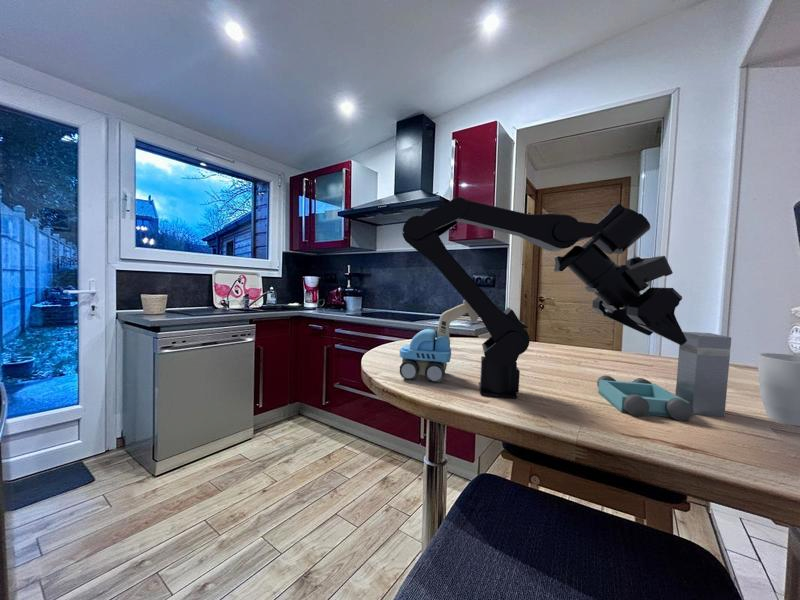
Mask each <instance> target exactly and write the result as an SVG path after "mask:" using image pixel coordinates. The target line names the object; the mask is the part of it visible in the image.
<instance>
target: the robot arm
mask: <svg viewBox="0 0 800 600" xmlns="http://www.w3.org/2000/svg"><path fill="white" fill-rule="evenodd" d="M460 223H464V224H467V225H472V226H476V227H480V228H484V229H487V230H491V231H492V230H493V231H496V232H500V233H504V234H508V235H511V236H512V235H513V236H516V237H520V238H521V239H524V240H525V241H527V242H529V243H530V244H532V245H535V246H537V247H539V248H542V249H544V250H545V251H549V252H559V251H562V250H565V249H568V248H571V247H572V248H571V249H570V250H568V251H567V252H566V253H565V254H564V255H562V256H561V255H559V256H555V257H554V269H553V270H554V272H555V273H558V272H563V271H564V270H565V269H566V268H568V269H569V270H570V271H571V272H572V273H573V274H574V275H575V276H576V277H578V279H579V280H580V281H581V282H582V283H584V285H585V287H584V288H585V289H586V291H588V293H589V292H590V293H594V295H596V298H594V299H593V300H592V309H593V310H595V312H596V313H597V314H599V315H602V316H603V317H604V318H606V319H607V318H608V319H609V320H612V321H615V323H619V324H621V325H623V326H626V327H628V328H630V329H632V330H635V331H637V332H639V333H641V334H644V335H646V336H651V335H652V334H653V333H654V334H655V335H658V336H661V337H662V338H664V339H667V340H668V341H670V342H673V343H675V344H677V345H683V344H684V343H686V342H687V339H686V337H685V335H684V334H683V332H684V331H683V330H682V328H681V325H680V324H679V322H678V319H677V317H676V315H675V311H676V308H677V307H679V305H680V302H681V301H682V300H683V296H682V295H681V294H680V293H679V292H678V291H677V290H675V288H673V287H655V286H654V287H652V286H651V287H649V286H650V285H649V284H648V283H649V282H652V281H654V280H657V279H660V278H662V277H668V276H670V275H672V274H673V273H674V272H673V270H672V268H671V265H670V264H669V262H668V259H667V257H666V256H665V255H661V256H652V257H648V258H645V259H643V258H641V257H639V256H635V257H631V258H629V259H627V260H625V264H617V263H616V262H615V261H613V260H612V259H611V257H609V256H608V255H612V254H617V255H622V254H623V253H625V251H626V250H627V249H629V248H630V247H631V246H632V245H633V244H635V242H637V241H638V240H639V239H640V238H642V237H643V236H644V235H645V234H646V233H647V232H649V231H650V229H651V224H650V221H649V220H648V219H647V218H646V216H644V215H643V214H642V213H640V212H637V211H635V210H633V209H631V208H628V207H624V206H623V205H622V204H621V203H618V204H616V205H614V206H612V207H611V208H610V209H609V210H608V211H607V213H606V214H605V215H604V216H603V217H602V218H600V219H599V220H598V221H597V222H595V223H593V222H585V221H584V222H583V221H578V219H577V218H576V217H574V216H572V215H570V214H561V213H559V214H558V213H557V214H556V213H537V214H536V213H535V214H534V213H532V214H531V213H525V212H524V213H523V212H520V211H516V210H511V209H507V208H504V207H499V206H494V205H490V204H486V203H480V202H476V201H473V200H468V199H466V198H465V197H460V196H455V197H454V198H452V199H451V200H449V201H448V202H445V203H444V204H442V205H440V206H437V207H435V208H433V209H430V210H428V211H427V212H425V213H423V214H422V215H414V216H411V217H410V218H408V219H407V220H406V221H405V222H404V225H403V227H402V233H401V234H402V237H403V239H404V241H405V242H406V243H407V244H408V245H409V246H411V247H412V248H413V249H414V250H415V251H417V252H418V253H420V254H421V255H422V256H423V257H424V258H426V259H427V260H429V262H431V263H432V264H433V265H434V266H435V267H436V268H437V269H438V270H439V272H440V273H441V274H442V275H443V276H444V277H445V279H447V281H448V282H449V283H450V285H451V286H452V287H453V288H454V289H455V290H456V291H457V293H458V294H459V295H460V296H461V297H462V299H463V300H465V301H466V302H467V303H468V304H469V305H470V306H471V307H472V309H473V310H474V311H475V312H476V313H477V314H478V316H479V317H478V318H480V319H481V321H482V323H483V325H484V326H485V327H486V328H485V329H486V330H487V331H488V333H489V334H490V337H488V339H486V340H485V341H484V342H483V343H482V344H481V346H482V350H483V354H484V356H480V375H479V376H480V378H479V379H480V380H479V383H478V387H479V388H478V389H479V395H481V396H489V397H490V396H491V397H500V398H510V399H512V398H513V399H517V398H518V394H517V393H519V392H520V372H521V371H520V369H519V367H518V363H517V361H518V358H519V357H520V355H522V354H524V353H525V352H526V350H528V348H529V346H530V341H531V339H530V338H531V337H530V335H529V333H528V332H527V330H526V329H528V325H526V324H525V323H523V321H521V320H520V319H519V318H518V316H517V314H516V313H515V311H514V310H513V309H512V308H511V307H506V309H504V311H503V310H501V309H500V308H499V307H498V306H497V305H496V304H495V303H494V302H493V301H492V299H490V298H489V297H488V295H487V294H486V293H485V292H484V291H483V290H482V289H481V288H480V286H479V285H478V284H477V283H476V281H474V279H473V278H472V276H470V275H469V274H468V272H467V271H466V270H465V269H464V267H462V266H461V265H460V263H459V262H458V261H457V260H456V258H454V256H453V255H452V254H451V253H450V252H449V251H448V249H447V247H446V246H445V244H444V243H443V240H442V239H441V238H440V236H442V235H443V234H445V233H446V232H448V231H449V230H451V229H452V228H453V227H455V226H456V225H458V224H460ZM589 238H590V239H589ZM587 239H588V240H587ZM584 240H587V242H585V243H584V244H583V245H582V246H580V245H575V244H576V243H578V242H581V241H584ZM648 287H649V288H648ZM641 291H644V292H643V293H641Z"/></svg>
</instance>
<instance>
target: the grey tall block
mask: <svg viewBox="0 0 800 600" xmlns="http://www.w3.org/2000/svg"><path fill="white" fill-rule="evenodd" d="M682 332H683V334H684V335H685V337H686V339H687V342H686V343H684V344H683V345H679V344H678V345H679V346H678V347H679V348H678V358H677V359H678V360H677V370H676V371H677V372H676V385H675V395H676V396H678V397H680V398H682V399H684V400H686V401H687V402H689V403H690V404H691V406H692V407H693V415H699V416H709V415H710V416H711V417H720V416H721V418H722V417H723V418H725V416H726V415H725V414H726V413H725V412H726V403H727V391H728V381H729V372H730V371H729V369H730V359H731V357H730V356H731V346H732V336H731V337H730V336H726V335H722V334H716V333H711V332H696V331H695V332H694V331H682Z"/></svg>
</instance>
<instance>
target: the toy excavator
mask: <svg viewBox="0 0 800 600" xmlns="http://www.w3.org/2000/svg"><path fill="white" fill-rule="evenodd" d="M467 313H468V317H469V319H470V323H471V324H474V323H475V322H476V321H477V320H478V319H479V318H480V317H479V316H478V314H477V313H476V312H475V311H474V310H473V309H472V307H471V306H470V305H469V304H468V303H467V302H466V301H465V299H463V301H462V304H459V305H456V306H454V307H452V308H450V309H448V310H445V311H444V312H442V313H441V315H440V317H439V321H438V326H437V331H436V330H435V329H433V328H425V329H423V330H420V331H419V332H417V333H416V334H415V335H414V336H413V337H412V338H411V340H410V342H409V344H407V345H403V346H402V347H401V348H399V357H400V358H402V363H401V364H400V366H399V374H400V376H401V378H403V379H404V380H414V379H416V378H417V377H418V376H425V378H426V380H427V381H428V382H430V381H432V383H433V384H438V383H441V381H442V380H443V379H444V377H445V374H446V370H447V367H448V366H447V365H448V363H450V362H451V358H452V348H451V339H450V324H451V322H453V321H455V320H457V319H458V318H461V317H462V316H464V315H466V314H467Z"/></svg>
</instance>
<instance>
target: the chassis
mask: <svg viewBox="0 0 800 600" xmlns="http://www.w3.org/2000/svg"><path fill="white" fill-rule="evenodd" d="M596 385H597V388H598V389H597V390H598V392H597V393H598V394H599V395H600V396H601V397H602V398H604V399H605V400H606V401H607V402H609V403H610V405H612V406H613V407H614V408H615V409H617V410H618V411H619V412H620V413H626V414H630V415H632V416H634V417H637V418H638V417H643V416H645V415H646V416H656V417H657V416H658V417H666V418H667V417H668V418H673V419H674V420H676V421H680V422H685V421H688V420H690V419H692V417H693V415H694V414H693V407H692V406H691V404H690V403H689V402H687V401H686V400H684V399H682V398H680V397H678V396H676V394H674V393H673V392H671V391H669V390H667V389H665V388H663V387H661V386H660V385H658V384H656V383H652V382H651V381H649V380H647V379H646V378H643V377H637V378H635V379H633V381H621V380H616V379H615V378H613V377H612V376H610V375H606V374H605V375H601V376H600V377H598V379H597V382H596Z"/></svg>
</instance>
